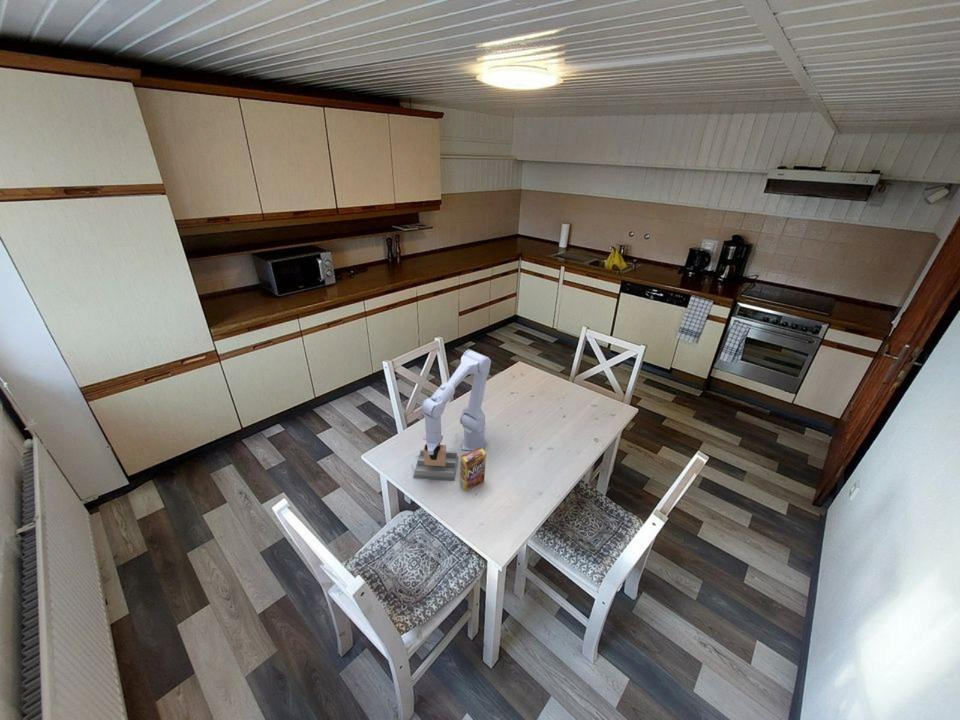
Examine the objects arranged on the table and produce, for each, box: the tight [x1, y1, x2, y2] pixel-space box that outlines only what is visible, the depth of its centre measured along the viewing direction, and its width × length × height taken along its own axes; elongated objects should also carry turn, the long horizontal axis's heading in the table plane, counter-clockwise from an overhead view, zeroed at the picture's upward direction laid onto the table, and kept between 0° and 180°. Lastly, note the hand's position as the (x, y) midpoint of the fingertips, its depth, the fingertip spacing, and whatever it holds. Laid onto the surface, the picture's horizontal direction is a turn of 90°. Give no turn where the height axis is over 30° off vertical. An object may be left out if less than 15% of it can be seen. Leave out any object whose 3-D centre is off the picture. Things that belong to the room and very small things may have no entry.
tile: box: [422, 443, 447, 466], centre depth 148 cm, size 8×3×8 cm, turn 86°
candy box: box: [459, 447, 487, 492], centre depth 144 cm, size 9×4×15 cm, turn 123°
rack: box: [412, 449, 459, 481], centre depth 154 cm, size 16×12×4 cm
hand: (434, 455), depth 148 cm, fingers closed on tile, 3 cm apart
